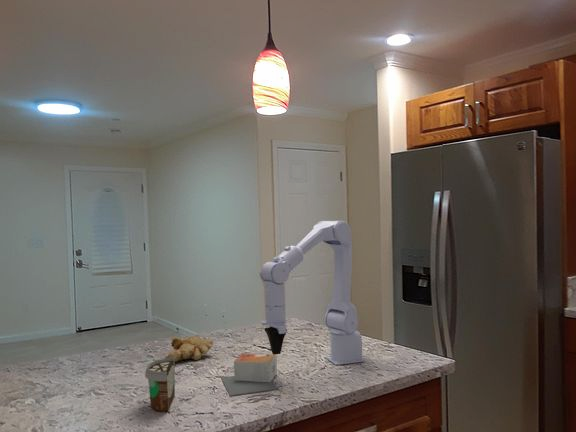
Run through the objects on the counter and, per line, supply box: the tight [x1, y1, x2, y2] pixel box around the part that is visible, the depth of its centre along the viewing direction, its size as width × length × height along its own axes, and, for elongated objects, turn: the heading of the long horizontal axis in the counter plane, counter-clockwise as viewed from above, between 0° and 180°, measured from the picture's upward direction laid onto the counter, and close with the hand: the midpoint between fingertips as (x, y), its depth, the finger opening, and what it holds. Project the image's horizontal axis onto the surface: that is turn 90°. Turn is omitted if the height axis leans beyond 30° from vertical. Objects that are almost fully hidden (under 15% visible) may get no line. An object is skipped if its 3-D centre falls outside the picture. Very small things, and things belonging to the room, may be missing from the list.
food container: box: [144, 357, 176, 413], centre depth 116 cm, size 12×6×10 cm, turn 5°
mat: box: [220, 375, 280, 397], centre depth 129 cm, size 13×14×1 cm
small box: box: [233, 352, 278, 382], centre depth 133 cm, size 8×6×10 cm
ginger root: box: [165, 336, 214, 362], centre depth 155 cm, size 16×16×8 cm
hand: (276, 353), depth 131 cm, fingers closed
